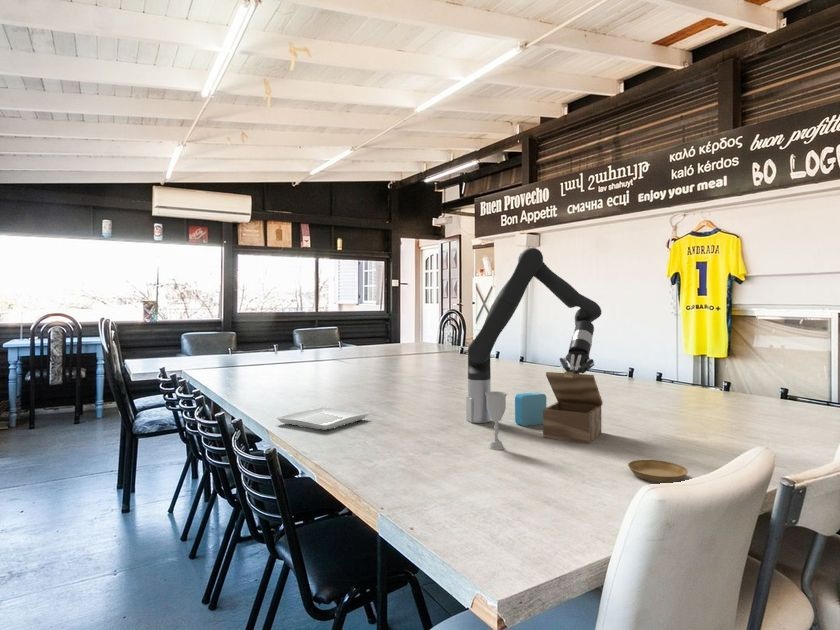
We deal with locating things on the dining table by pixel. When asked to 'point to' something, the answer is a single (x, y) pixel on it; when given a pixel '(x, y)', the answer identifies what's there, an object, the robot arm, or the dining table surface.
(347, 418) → the square plate
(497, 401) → the chalice
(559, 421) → the walnut box
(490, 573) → the dining table surface
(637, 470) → the plant saucer
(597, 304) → the robot arm
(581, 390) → the walnut lid
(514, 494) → the dining table surface
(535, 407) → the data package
